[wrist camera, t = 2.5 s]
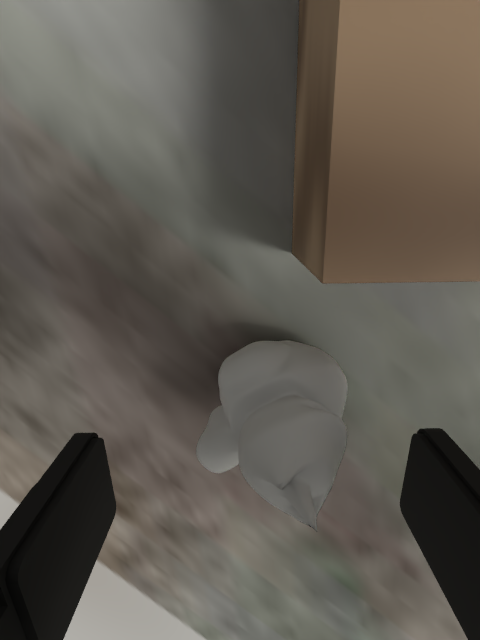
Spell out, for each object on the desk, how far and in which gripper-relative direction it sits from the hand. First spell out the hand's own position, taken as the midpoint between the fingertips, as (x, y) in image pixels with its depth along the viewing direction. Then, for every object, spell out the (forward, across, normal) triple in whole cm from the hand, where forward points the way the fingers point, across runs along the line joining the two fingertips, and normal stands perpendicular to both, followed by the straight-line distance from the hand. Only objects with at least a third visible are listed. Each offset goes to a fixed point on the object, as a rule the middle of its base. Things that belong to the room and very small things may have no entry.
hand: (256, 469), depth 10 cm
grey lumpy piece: (+6, -1, 0) cm, 6 cm away
